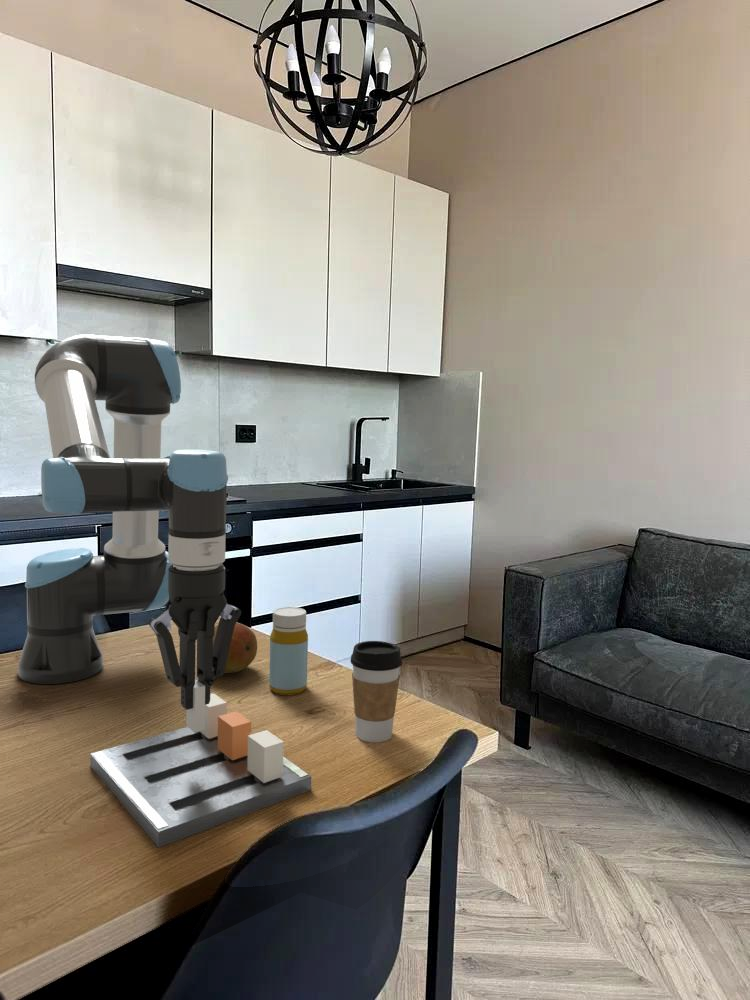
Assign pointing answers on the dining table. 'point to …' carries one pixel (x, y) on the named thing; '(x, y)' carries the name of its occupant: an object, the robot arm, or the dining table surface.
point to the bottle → (288, 651)
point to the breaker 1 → (213, 716)
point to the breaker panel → (188, 783)
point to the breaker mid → (233, 735)
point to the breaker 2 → (265, 756)
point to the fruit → (240, 648)
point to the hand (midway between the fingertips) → (195, 727)
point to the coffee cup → (375, 688)
